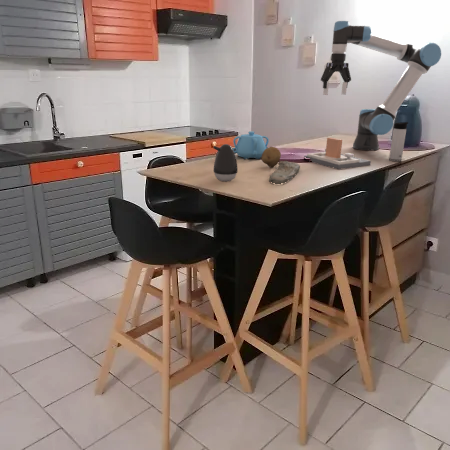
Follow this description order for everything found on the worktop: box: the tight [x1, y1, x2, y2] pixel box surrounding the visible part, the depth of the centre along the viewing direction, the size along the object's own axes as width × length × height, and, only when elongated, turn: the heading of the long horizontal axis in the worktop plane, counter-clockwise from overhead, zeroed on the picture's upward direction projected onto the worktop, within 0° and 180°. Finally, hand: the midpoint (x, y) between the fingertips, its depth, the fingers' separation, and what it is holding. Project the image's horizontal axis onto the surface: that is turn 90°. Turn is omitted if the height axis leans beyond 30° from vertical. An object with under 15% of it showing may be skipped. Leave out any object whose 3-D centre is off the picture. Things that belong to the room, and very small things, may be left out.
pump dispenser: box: [213, 143, 238, 182], centre depth 183 cm, size 10×10×15 cm
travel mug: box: [388, 121, 409, 162], centre depth 228 cm, size 6×7×20 cm
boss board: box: [303, 148, 372, 170], centre depth 223 cm, size 22×25×5 cm
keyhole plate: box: [306, 137, 360, 165], centre depth 220 cm, size 14×23×10 cm, turn 31°
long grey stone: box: [268, 160, 301, 184], centre depth 194 cm, size 35×5×10 cm
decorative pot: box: [232, 131, 270, 160], centre depth 230 cm, size 16×16×14 cm
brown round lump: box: [261, 146, 282, 168], centre depth 208 cm, size 9×9×10 cm
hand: (334, 94), depth 239 cm, fingers open, 13 cm apart
